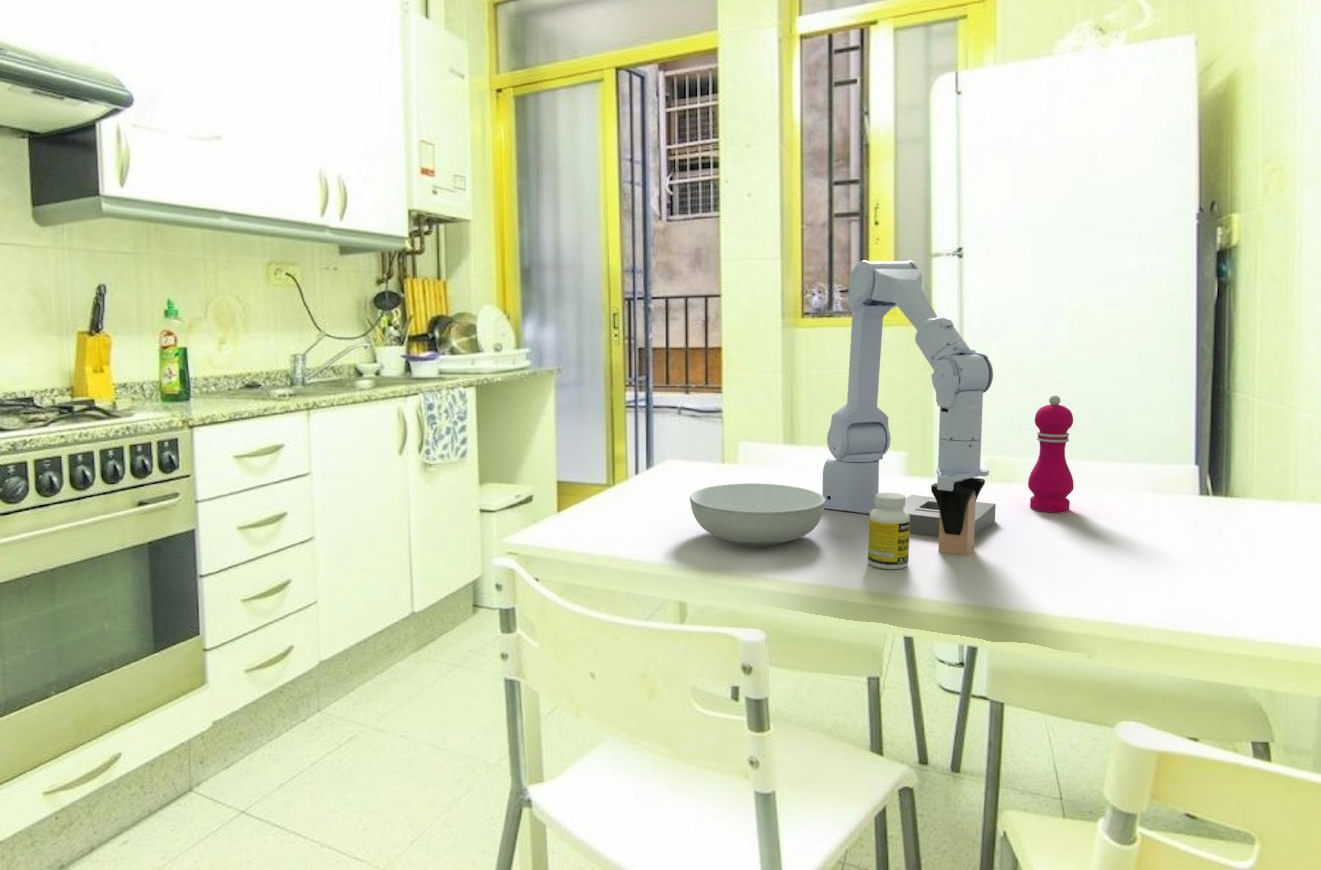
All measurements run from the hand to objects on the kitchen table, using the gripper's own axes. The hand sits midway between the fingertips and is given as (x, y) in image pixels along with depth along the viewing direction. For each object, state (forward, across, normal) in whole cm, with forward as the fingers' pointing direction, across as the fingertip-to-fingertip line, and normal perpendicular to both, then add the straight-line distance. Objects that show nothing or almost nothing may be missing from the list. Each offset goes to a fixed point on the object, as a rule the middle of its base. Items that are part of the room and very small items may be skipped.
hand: (956, 530), depth 118 cm
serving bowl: (+3, -9, +28) cm, 30 cm away
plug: (+3, 0, 0) cm, 3 cm away
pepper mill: (+3, +34, -7) cm, 35 cm away
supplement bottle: (+3, -12, +6) cm, 14 cm away
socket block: (+3, +13, +6) cm, 15 cm away
